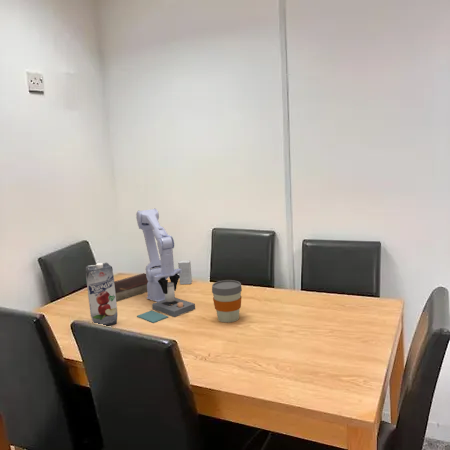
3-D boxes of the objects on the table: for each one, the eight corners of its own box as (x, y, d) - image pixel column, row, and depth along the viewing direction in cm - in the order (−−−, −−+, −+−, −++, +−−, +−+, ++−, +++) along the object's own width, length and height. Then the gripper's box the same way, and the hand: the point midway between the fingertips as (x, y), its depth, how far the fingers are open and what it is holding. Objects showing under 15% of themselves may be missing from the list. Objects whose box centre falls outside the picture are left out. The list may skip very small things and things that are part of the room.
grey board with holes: (152, 309, 215) (152, 303, 214) (172, 301, 223) (172, 296, 223) (174, 317, 204) (174, 311, 203) (195, 308, 212) (194, 303, 212)
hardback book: (143, 281, 261) (143, 272, 260) (164, 287, 247) (163, 278, 246) (96, 295, 241) (95, 285, 240) (116, 302, 228) (115, 293, 227)
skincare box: (192, 281, 253) (190, 260, 250) (190, 284, 249) (189, 262, 246) (181, 282, 253) (179, 260, 251) (179, 284, 249) (177, 262, 247)
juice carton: (90, 322, 202) (83, 262, 198) (114, 317, 207) (108, 258, 202) (94, 329, 195) (87, 267, 190) (119, 324, 199) (113, 262, 194)
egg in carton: (176, 310, 210) (176, 303, 209) (181, 309, 212) (180, 301, 211) (180, 311, 208) (179, 304, 208) (184, 310, 210) (183, 302, 209)
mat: (136, 316, 206) (136, 315, 206) (151, 311, 212) (151, 310, 212) (153, 323, 198) (153, 322, 198) (168, 317, 204) (168, 316, 204)
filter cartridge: (163, 300, 214) (161, 283, 213) (171, 297, 217) (169, 281, 216) (169, 302, 211) (168, 285, 210) (177, 299, 214) (175, 283, 213)
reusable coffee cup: (223, 311, 207) (221, 278, 205) (248, 315, 201) (246, 281, 198) (208, 321, 197) (205, 287, 194) (234, 326, 190) (231, 290, 188)
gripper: (159, 268, 203) (162, 298, 206) (185, 260, 213) (187, 289, 216) (150, 265, 208) (152, 295, 210) (175, 258, 218) (177, 286, 221)
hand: (169, 292), depth 213 cm, fingers closed on filter cartridge, 4 cm apart
